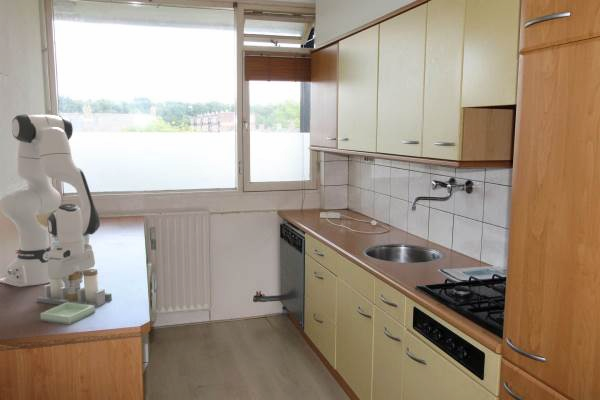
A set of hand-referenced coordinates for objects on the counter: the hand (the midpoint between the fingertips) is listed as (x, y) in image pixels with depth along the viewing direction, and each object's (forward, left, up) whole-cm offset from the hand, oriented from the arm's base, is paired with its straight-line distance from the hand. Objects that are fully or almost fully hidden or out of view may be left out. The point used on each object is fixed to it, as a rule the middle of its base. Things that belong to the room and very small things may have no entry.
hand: (73, 284), depth 197 cm
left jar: (-8, 0, -6) cm, 10 cm away
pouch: (-36, +38, -6) cm, 53 cm away
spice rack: (0, 0, -6) cm, 6 cm away
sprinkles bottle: (0, 0, -6) cm, 6 cm away
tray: (+10, -14, -6) cm, 18 cm away
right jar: (+8, 0, -6) cm, 10 cm away
